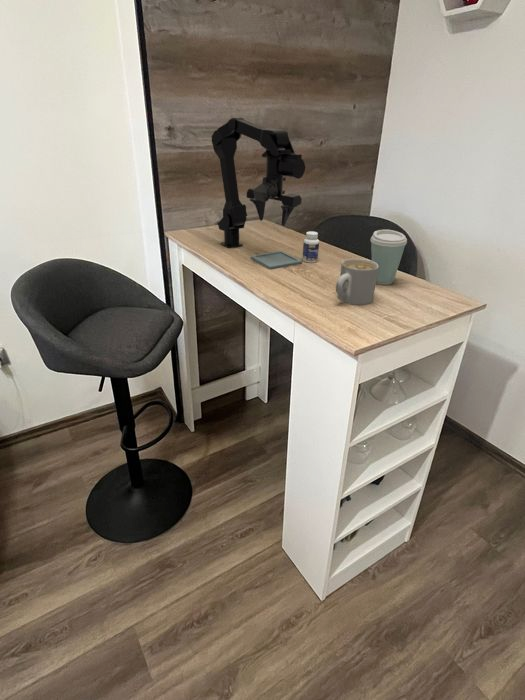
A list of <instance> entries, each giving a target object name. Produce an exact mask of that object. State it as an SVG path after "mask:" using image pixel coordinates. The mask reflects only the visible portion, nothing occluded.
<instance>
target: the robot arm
mask: <svg viewBox="0 0 525 700" xmlns="http://www.w3.org/2000/svg"><path fill="white" fill-rule="evenodd" d="M242 136H245V137H248V138H250V139H252V140H254V141H256V142H258V143H259V144H260V146H261V147H262V148H263V149H264V150H265V151H264V152H263V153H262V154H261V157H262V158H266V161H265V162H266V163H265V165H266V167H265V176H263V177H262V182H261V183H260V184H259V185H258V186H256V187H251V188H248V189H247V191H246V198H247V199H249V202H252V203H253V204H254V206H255V209H256V211H257V215H258V219H259V221H263V220H264V215H265V209H266V202H268V201H269V200H273V201H279V202H281V203H282V205H280V208H281V210H282V214H281V215H282V216H281V226H283V227H284V226H285V225H286V223H287V221H288V219H289V218H290V216H291V214H292V212H293V211H294V209H295V208H296V207H298V206H300V205H302V200H303V199H302V197H301V195H300V194H296V193H288V194H286V193H285V192H286V190H283V189H284V182H286V179H287V178H286V177H288V178H293V179H298V180H299V179H301V178H302V177H303V176H304V175H305V172H306V164H305V161H304V159H303V158H302V156H303V155H302V154H301V153H295V152H296V151H295V150H294V148H293V146H292V142H291V140H290V137H289V133H288V131H286V129H277V128H276V129H275V128H266V127H264V126H261V125H259V124H257V123H254V122H251V121H248V120H246V119H244V118H243V117H232V118H230V119H228V121H227V122H226V123H225V124H222V126H219V127H218V128H217V129H216V130H214V131H213V133H212V135H211V144H212V147H213V151H214V153H215V155H217V157H218V159H219V163H220V171H221V177H222V183H223V190H224V198H225V203H224V206H223V209H222V218H221V219H220V221H219V222H218V223H217V226H218V229H219V230H220V231H223V241H221V242H220V245H222V246H224V247H226V248H227V249H228V248H230V249H231V248H236V247H243V246H244V245H243V243H241V242H240V229H244V228H245V225H246V222H247V218H248V212H247V206H246V204H243V203H242V202H241V200H240V195H239V188H238V180H237V179H238V178H237V174H236V173H237V172H236V166H235V155H236V152H237V150H238V147H237V146H238V145H237V144H238V143H237V142H238V141H239V140H240V139H241V138H242Z"/></svg>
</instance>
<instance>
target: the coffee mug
mask: <svg viewBox="0 0 525 700" xmlns="http://www.w3.org/2000/svg"><path fill="white" fill-rule="evenodd" d="M378 267H379V266H378V264H377V263H375V262H373V261H372V260H369V259H366V258H346V259H344V260H342V261H341V267H340V274H339V277H338V278H337V280H336V283H335V292H336V294H337V298H338V300H339V301H341V302H343V303H345V304H348V305H352V306H353V305H355V306H365V305H369V304H371V303H373V301H374V296H375V290H376V285H377V283H376V279H377V273H378Z"/></svg>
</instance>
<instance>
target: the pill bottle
mask: <svg viewBox="0 0 525 700" xmlns="http://www.w3.org/2000/svg"><path fill="white" fill-rule="evenodd" d="M318 236H319V233H318V232H317V231H307V232H306V233H305V238H304V240H303V243H302V244H303V245H302V247H303V248H302V256H301V257H302V258H301V259H302V260H301V261H302V262H303V261H304V262H305V263H308V264H310V263H313V264H314V263H317V262H318V261H319V260H318V259H319V250H320V240H319V239H318Z"/></svg>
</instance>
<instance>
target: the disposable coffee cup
mask: <svg viewBox="0 0 525 700" xmlns="http://www.w3.org/2000/svg"><path fill="white" fill-rule="evenodd" d="M369 241H370V242H371V243H370V244H371V247H370V249H371V250H370V252H371V261H373V262H375V263H377V264H378V266H379V267H378V273H377V279H376V285H377V284H378V285H382V286H387V285H392V284H393V283H394V282H395V281H394V280H395V277H396V276H397V272H398V269H399V266H400V262H401V260H402V257H403V253H404V250H405V247H406V245H407V243H408V239H407V237H406V235H405V234H403V233H402V232H399V231H397V230H392V229H378V230H375V231H374V232H373V233H372V236H371V237H370V240H369Z"/></svg>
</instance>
